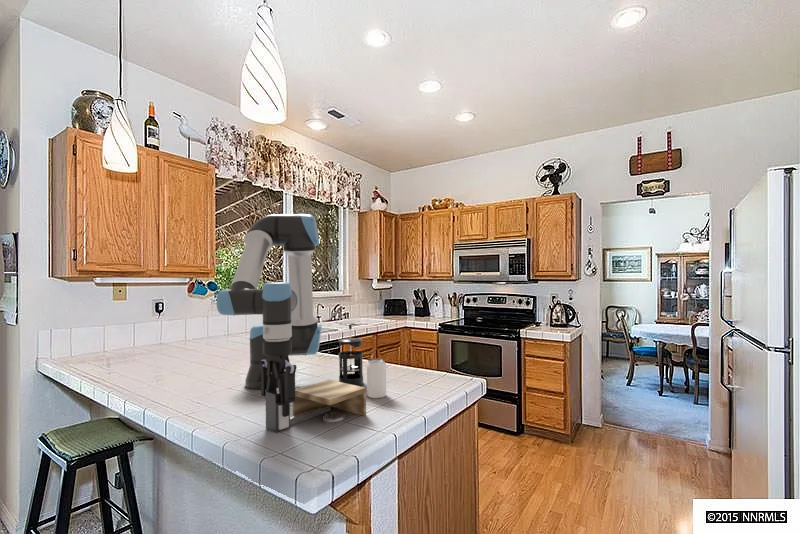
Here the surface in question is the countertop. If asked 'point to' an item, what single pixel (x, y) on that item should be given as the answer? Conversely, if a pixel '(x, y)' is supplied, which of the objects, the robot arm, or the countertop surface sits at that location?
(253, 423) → the countertop surface
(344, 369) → the french press
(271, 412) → the tool
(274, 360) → the robot arm
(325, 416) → the disc
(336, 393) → the shelf
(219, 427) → the countertop surface
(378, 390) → the can
